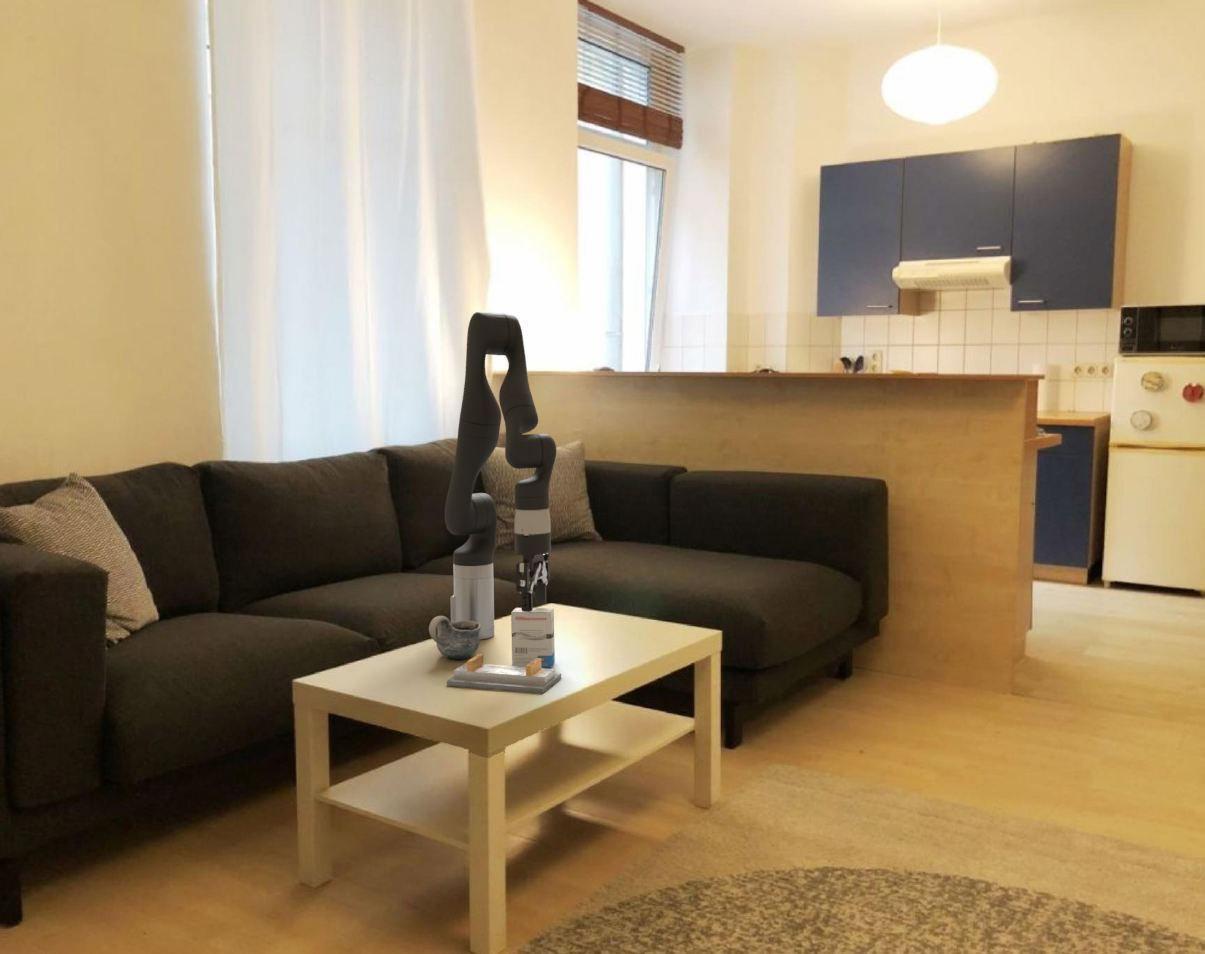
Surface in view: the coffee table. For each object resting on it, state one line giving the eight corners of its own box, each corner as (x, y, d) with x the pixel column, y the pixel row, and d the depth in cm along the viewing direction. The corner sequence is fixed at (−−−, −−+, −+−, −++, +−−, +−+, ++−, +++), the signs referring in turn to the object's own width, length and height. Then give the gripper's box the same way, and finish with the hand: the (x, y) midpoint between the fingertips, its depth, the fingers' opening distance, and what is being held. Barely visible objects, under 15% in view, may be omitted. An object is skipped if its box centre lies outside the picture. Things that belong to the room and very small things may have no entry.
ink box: (555, 661, 236) (554, 607, 234) (552, 668, 231) (551, 612, 230) (515, 661, 236) (515, 606, 235) (511, 667, 232) (510, 611, 230)
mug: (490, 654, 242) (489, 609, 241) (456, 668, 231) (455, 621, 230) (453, 649, 246) (452, 605, 246) (418, 662, 235) (417, 616, 235)
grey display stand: (446, 685, 218) (446, 663, 218) (469, 671, 229) (468, 649, 228) (542, 693, 212) (542, 670, 212) (561, 678, 223) (561, 656, 222)
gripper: (527, 525, 239) (529, 599, 240) (503, 534, 225) (504, 613, 227) (560, 526, 237) (562, 601, 238) (538, 535, 223) (539, 615, 224)
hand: (534, 607), depth 232 cm, fingers open, 8 cm apart
